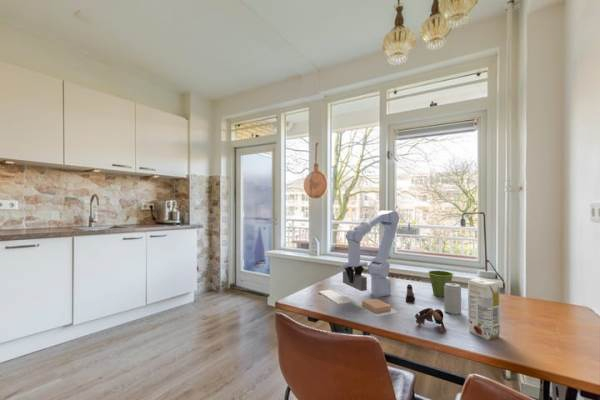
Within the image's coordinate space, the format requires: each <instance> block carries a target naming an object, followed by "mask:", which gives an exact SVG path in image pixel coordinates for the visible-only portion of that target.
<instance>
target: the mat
mask: <svg viewBox="0 0 600 400" xmlns="http://www.w3.org/2000/svg"><path fill="white" fill-rule="evenodd" d="M355 305H356V306H357V307H359V308H361V309H362V310H364V311H366V312H368V313H370V314H372V316H374V317H380V316H387V315H392V314H398V313H399V311H398V310H397V309H394V308H393V307H391V310H390V311H384V312H378V313H375V312H373V311H372V310H370V309H368V308H366V307H365V306H363V305H362V302H357V303H355Z"/></svg>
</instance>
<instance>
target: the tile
mask: <svg viewBox="0 0 600 400" xmlns="http://www.w3.org/2000/svg"><path fill="white" fill-rule="evenodd" d="M361 303H362V305H363V306H365V307H366V308H368V309H370V310H372V311H373V312H375V313H378V312H384V311H390V310H391V308H392V305H391V304H389V303H386V302H385V301H382V300H380V299H378V298H370V299H364V300H361Z"/></svg>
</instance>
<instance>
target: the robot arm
mask: <svg viewBox="0 0 600 400" xmlns="http://www.w3.org/2000/svg"><path fill="white" fill-rule="evenodd" d="M399 220H400V216H399V213H398V212H397V211H396V210H383V209H381V210H379V211H378V212H376V214H375V215H374V216H373V217H372V218H370V219H369V220H368V221H361V222H360V224H359V225H357V226H355V227H354V228H353V229H348V231H347V232H346V235H345V239H346V242H347V246H348V247H347V251H348V252H347V253H348V255H347V256H348V258H347V262H345V263H340V265H339V266H340V269H342V270H344V271H346V273H347V275H348V278H349V282H350V283H353V274H354V273H356V274H359V275H362V273H363V272H364V270H365V268H364V267H367V272H368V273H369V275H370V280H371V281H370V283H371V286H370V287H371V288H370V290H369V291H367V293H368V294H370V295H373V296H374V297H376V298H379V297H385V296H392V295H393V293H392V286H391V285H392V283H391V279H390V277H389V275H390V267H391V265H390V264H391V263H389V262H388V258H389V254H390V252H391V249H392V244H393V243H394V239H395V235H396V232H397V228H398V224H399ZM378 224H380V225H381V226H382V227H384V232H383V236H382V239H381V241H380V245H379V248H378V251H377V254H376V256H375V257H374V258H372V259H371V262H370V263H369V262H367V261H361V241H363V238H364V237H365V236H367V234H368V233H370V232H371V231H372V228H373V227H375V226H377V225H378ZM368 263H369V265H368Z"/></svg>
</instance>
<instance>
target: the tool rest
mask: <svg viewBox="0 0 600 400" xmlns="http://www.w3.org/2000/svg"><path fill="white" fill-rule="evenodd" d="M318 294H320V295H322V296H324V297H326V298H327V299H328V300H330V301H332V302H333V303H335V304H337V305H345V304H350V303H352V300H349V299H348V298H345V297H343V296H342V295H340V294H339V293H337V292H335V291H334V290H332V289H325V290H319V291H318Z"/></svg>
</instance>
